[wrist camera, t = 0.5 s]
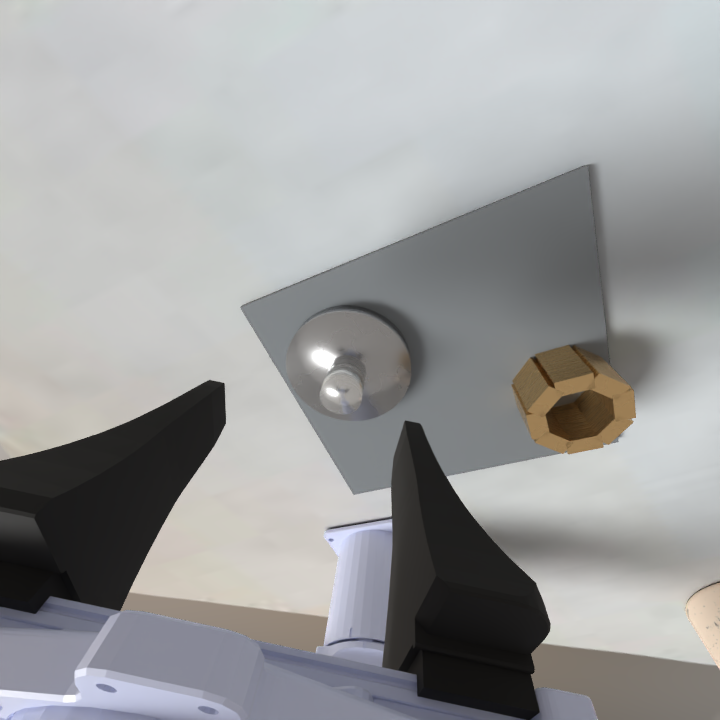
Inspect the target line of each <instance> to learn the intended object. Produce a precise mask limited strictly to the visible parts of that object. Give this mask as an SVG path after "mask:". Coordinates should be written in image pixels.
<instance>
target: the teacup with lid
mask: <svg viewBox="0 0 720 720" xmlns="http://www.w3.org/2000/svg"><path fill="white" fill-rule="evenodd" d="M685 611H686V615H687V617H688V619H689V621H690V622H691V624H692V626H693V627H694V629H695V630H696V632H697V634H698V635H699V637H700V639H701V640H702V642H703V643H704V645H705V647H706V648H707V650H708V652H709V653H710V655H711V656H712V658H713V660H714V661H715V663H716V664H717V666H718V668H719V669H720V583H717V584H714V585H711V586H708V587H706V588H704V589H702V590H700V591H699V592H697V593H696V594H694V595H693V596H692V597H691V598H690V599H689V601H688V602H687V604H686V608H685Z"/></svg>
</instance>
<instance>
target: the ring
mask: <svg viewBox="0 0 720 720" xmlns="http://www.w3.org/2000/svg"><path fill="white" fill-rule="evenodd" d="M535 357H536V359H533V358H531V357H530V358H529V359H528V361H527V362H526V363H525V365H524V366H523V367H522V368H521V370H520V371H519V372H518V374H517V375H516V376H515V377H514V379H513V380H512V381H513V383H514V384H511V386H512V389H513V393H514V397H515V401H516V405H517V408H518V410H519V412H520V414H521V416H522V419H523V421H524V423H525V425H526V427H527V430H528V432H529V434H530V436H531V438H532V440H533V439H534V441H535V443H537V444H539V445H542V446H544V447H547V448H549V449H552V450H554V451H557V452H559V453H562V454H563V453H564V452H565V451H567V453H568V454H572V453H577V452H582V451H587V450H592V449H598V448H603V443H606V444H608V445H609V444H610V443H611V442H612V441H613V440H615V439H616V438H617V437H618V436H619V435H620V434H621V433H622V432H623V431H624V430H626V429H627V428H628V427H629V426H630V425H631V424H632V423H633V421H632V419H631V418H636V413H635V400H634V390H633V389H632V388H631V386H630V385H629V384H628V383H627V382H626V381H625V380H624V379H623V378H622V377H621V376H620V375H619V374H618V373H617V372H616V371H615V370H614V369H613V368H612V367H611V366H610V365H609V364H608V363H607V362H606V361H605V360H604V359H603V358H602V357H600V356H598V355H595V354H593V353H591V352H589V351H586V350H584V349H582V348H579V347H577V346H575V345H574V346H573V347H572V348H571V347H570V346H569V345H566V346H562V347H559V348H555V349H552V350H548V351H545V352H541V353H537V354H535ZM582 391H584V392H583V393H582V394H581V395H580V396H579V397H578V398H577V399H576V400H575V402H573V403H569V404H565V405H561V406H556V407H553V406H554V404H555V403H556V402H557V401H558V400H559V399H560V398H561V397H562V396H565V395H569V394H573V393H577V392H582Z"/></svg>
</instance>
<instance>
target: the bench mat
mask: <svg viewBox="0 0 720 720" xmlns="http://www.w3.org/2000/svg"><path fill="white" fill-rule="evenodd" d="M341 305H351V306H359V307H364V308H367V309H370V310H373V311H375V312H377V313H379V314H381V315H383V316H384V317H386V318H387V319H389V320H390V321H391V322H392V323H393V324H394V325H395V326H396V327H397V328H398V329H399V330H400V332H401V333H402V335H403V336H404V338H405V340H406V342H407V344H408V347H409V350H410V356H411V379H410V384H409V387H408V389H407V391H406V393H405V395H404V397H403V398H402V400H401V401H400V402H399V403H398V404H397V405H396V406H395V407H394V408H393V409H391V410H390V411H388V412H387V413H385V414H383V415H381V416H379V417H376V418H373V419H368V420H363V421H345V420H339V419H334V418H331V417H328V416H326V415H323V414H321V413H319V412H317V411H316V410H314V409H313V408H311V407H310V406H308V405H307V404H306V403H305V402H304V401H303V400H302V399H301V398H300V397H299V396H298V395H297V393H296V392H295V390H294V389H293V387H292V385H291V383H290V381H289V378H288V375H287V370H286V354H287V350H288V347H289V345H290V342H291V340H292V339H293V337H294V335H295V334H296V332H297V331H298V329H299V328H300V326H301V325H302V324H303V323H304V322H305V321H306V320H307V319H308V318H309V317H310V316H312V315H314V314H315V313H317V312H319V311H321V310H323V309H326V308H330V307H334V306H341ZM240 308H241V310H242V311H243V313H244V315H245V316H246V318H247V320H248V321H249V323H250V325H251V326H252V328H253V329H254V331H255V333H256V334H257V336H258V338H259V339H260V341H261V343H262V344H263V346H264V348H265V349H266V351H267V353H268V354H269V356H270V358H271V359H272V361H273V362H274V364H275V366H276V367H277V369H278V371H279V372H280V374H281V376H282V377H283V379H284V381H285V382H286V384H287V386H288V387H289V389H290V391H291V392H292V394H293V395H294V397H295V399H296V400H297V402H298V404H299V405H300V407H301V409H302V410H303V412H304V414H305V415H306V417H307V419H308V420H309V422H310V424H311V425H312V427H313V428H314V430H315V432H316V433H317V435H318V437H319V438H320V440H321V442H322V443H323V445H324V447H325V448H326V450H327V452H328V453H329V455H330V457H331V458H332V460H333V461H334V463H335V465H336V466H337V468H338V470H339V471H340V473H341V475H342V476H343V478H344V480H345V481H346V483H347V485H348V486H349V488H350V490H351V491H352V493H353V494H359V493H364V492H369V491H374V490H380V489H385V488H390V487H391V478H392V467H393V457H394V454H395V451H396V448H397V444H398V441H399V438H400V434H401V431H402V428H403V424H404V421H405V420H406V421H411V422H416V423H420V424H421V425H422V427H423V430H424V432H425V435H426V437H427V439H428V442H429V444H430V446H431V448H432V451H433V453H434V455H435V457H436V459H437V461H438V463H439V465H440V467H441V468H442V470H443V472H444V474H445V476H450V475H455V474H460V473H465V472H470V471H475V470H480V469H485V468H490V467H495V466H500V465H505V464H510V463H515V462H520V461H525V460H530V459H535V458H540V457H545V456H551V455H556V454H561V453H559V452H557V451H554V450H552V449H549V448H547V447H544V446H542V445H539V444H537V443H535V441H534V439H533V440H532V438H531V436H530V434H529V432H528V430H527V427H526V425H525V423H524V421H523V419H522V416H521V414H520V412H519V410H518V408H517V405H516V401H515V397H514V393H513V389H512V386H511V384H514V383H513V381H512V380H513V379H514V377H515V376H516V375H517V374H518V372H519V371H520V370H521V368H522V367H523V366H524V365H525V363H526V362H527V361H528V359H529V358H530V357H531V358H533V359H536V357H535V354H537V353H541V352H545V351H548V350H552V349H555V348H559V347H562V346H566V345H569V346H570V347H571V348H572V347H573V346H574V345H575V346H577V347H579V348H582V349H584V350H586V351H589V352H591V353H593V354H595V355H598V356H600V357H602V358H603V359H604V360H605V361H606V362H607V363H608V364H609V365H610V361H609V352H608V343H607V333H606V324H605V315H604V306H603V297H602V288H601V279H600V270H599V261H598V252H597V243H596V233H595V224H594V215H593V206H592V197H591V188H590V179H589V170H588V166H582V167H580V168H577V169H575V170H572V171H570V172H567V173H565V174H562V175H560V176H558V177H555V178H553V179H550V180H548V181H545V182H543V183H540V184H538V185H536V186H533V187H531V188H528V189H526V190H523V191H521V192H518V193H516V194H514V195H511V196H509V197H506V198H504V199H501V200H499V201H496V202H494V203H492V204H489V205H487V206H484V207H482V208H479V209H477V210H474V211H472V212H470V213H467V214H465V215H462V216H460V217H457V218H455V219H452V220H450V221H448V222H445V223H443V224H440V225H438V226H435V227H433V228H430V229H428V230H426V231H423V232H421V233H418V234H416V235H413V236H411V237H408V238H406V239H404V240H401V241H399V242H396V243H394V244H391V245H389V246H386V247H384V248H382V249H379V250H377V251H374V252H372V253H369V254H367V255H364V256H362V257H360V258H357V259H355V260H352V261H350V262H347V263H345V264H343V265H340V266H338V267H335V268H333V269H330V270H328V271H325V272H323V273H321V274H318V275H316V276H313V277H311V278H308V279H306V280H303V281H301V282H299V283H296V284H294V285H291V286H289V287H286V288H284V289H281V290H279V291H277V292H274V293H272V294H269V295H267V296H264V297H262V298H259V299H257V300H255V301H252V302H250V303H247V304H245V305H243V306H241V307H240ZM583 392H584V391H582V392H577V393H573V394H569V395H565V396H562V397H561V398H560V399H559V400H558V401H557V402H556V403H555V404H554V406H553V407H556V406H561V405H565V404H569V403H573V402H575V400H576V399H577V398H578V397H579V396H580V395H581V394H582V393H583ZM616 442H618V437H617V438H616V439H615V440H613V441H612V442H611V443H616ZM611 443H610V444H611ZM603 445H606V443H603ZM566 452H567V451H565V452H564V453H566Z"/></svg>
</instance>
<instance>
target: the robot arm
mask: <svg viewBox="0 0 720 720" xmlns="http://www.w3.org/2000/svg"><path fill="white" fill-rule="evenodd" d="M225 424H226V411H225V384H224V383H221V382H216V381H211V380H209V381H207V382H205V383H203V384H201V385H199V386H197V387H195V388H194V389H192V390H190V391H188V392H186V393H185V394H183V395H181V396H179V397H177V398H175V399H174V400H172V401H170V402H168V403H166V404H164V405H162V406H160V407H158V408H156V409H154V410H152V411H150V412H148V413H146V414H144V415H142V416H140V417H138V418H136V419H134V420H131V421H129V422H127V423H124V424H122V425H120V426H117V427H115V428H112V429H110V430H107V431H104V432H102V433H99V434H96V435H93V436H90V437H87V438H84V439H81V440H78V441H75V442H72V443H69V444H66V445H62V446H59V447H55V448H52V449H48V450H44V451H41V452H37V453H33V454H29V455H25V456H21V457H16V458H11V459H7V460H2V461H0V720H598V718H597V715H596V713H595V709H594V707H593V704H592V701H591V699H590V698H589V697H587V696H585V695H580V694H576V693H571V692H566V691H562V690H557V689H552V688H544V687H543V688H537V689H534V686H533V682H532V678H531V674H533V673H534V664H533V660H532V656H531V653H532V652H533V651H534V650H535V649H536V647H538V646H539V645H540V644H541V643H542V642H543V640H544V639H545V638H546V636H547V635H548V633H549V632H550V621H549V618H548V614H547V611H546V608H545V605H544V602H543V600H542V597H541V595H540V592H539V590H538V588H537V585H536V583H535V582H534V581H533V580H532V579H531V578H530V577H529V576H528V575H527V574H526V573H525V572H524V571H523V570H522V569H520V568H519V567H518V566H517V565H516V564H515V563H514V562H513V561H512V560H511V559H510V558H509V557H508V556H507V555H506V554H505V553H504V552H503V551H502V550H501V549H500V548H499V547H498V546H497V545H496V543H495V542H494V541H493V540H492V539H491V538H490V537H489V536H488V535H487V533H486V532H485V531H484V530H483V529H482V527H481V526H480V525H479V524H478V523H477V521H476V520H475V519H474V518H473V516H472V515H471V514H470V512H469V511H468V510H467V508H466V507H465V506H464V504H463V503H462V501H461V500H460V498H459V497H458V495H457V494H456V492H455V491H454V489H453V488H452V486H451V484H450V483H449V481H448V479H447V477H446V476H445V474H444V472H443V470H442V468H441V467H440V465H439V463H438V461H437V459H436V457H435V455H434V453H433V451H432V448H431V446H430V444H429V442H428V439H427V437H426V435H425V432H424V430H423V427H422V425H421V424H420V423H416V422H411V421H406V420H405V421H404V424H403V428H402V431H401V434H400V438H399V441H398V444H397V448H396V451H395V454H394V457H393V467H392V478H391V496H392V519H388V520H382V521H376V522H371V523H365V524H359V525H353V526H347V527H341V528H336V529H330V530H326V531H325V532H324V538H325V539H326V540H327V542H328V543H329V544H330V546H331V547H332V549H333V550H334V551H335V553H336V554H337V556H338V562H337V568H336V574H335V580H334V586H333V592H332V598H331V604H330V610H329V616H328V622H327V629H326V634H325V640H324V646H318V647H317V649H316V653H313V652H308V651H304V650H299V649H294V648H289V647H285V646H281V645H276V644H271V643H267V642H262V641H257V640H253V639H250V638H248V637H247V636H245V635H242V634H240V633H236V632H234V631H231V630H228V629H223V628H218V627H214V626H209V625H204V624H200V623H195V622H190V621H186V620H181V619H177V618H172V617H167V616H163V615H158V614H153V613H149V612H144V611H133V610H125V611H120V610H121V608H122V606H123V604H124V601H125V599H126V597H127V595H128V593H129V591H130V589H131V586H132V584H133V582H134V580H135V578H136V576H137V574H138V572H139V570H140V568H141V566H142V564H143V562H144V560H145V558H146V556H147V554H148V552H149V550H150V548H151V546H152V544H153V542H154V541H155V539H156V537H157V535H158V533H159V531H160V529H161V527H162V525H163V524H164V522H165V520H166V518H167V516H168V515H169V513H170V511H171V509H172V508H173V506H174V504H175V502H176V501H177V499H178V498H179V496H180V494H181V493H182V491H183V490H184V488H185V487H186V486H187V484H188V483H189V481H190V480H191V478H192V477H193V476H194V474H195V473H196V471H197V470H198V468H199V467H200V466H201V464H202V463H203V461H204V460H205V458H206V457H207V456H208V454H209V453H210V451H211V450H212V448H213V447H214V445H215V443H216V442H217V440H218V438H219V436H220V434H221V432H222V430H223V428H224V426H225Z"/></svg>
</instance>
